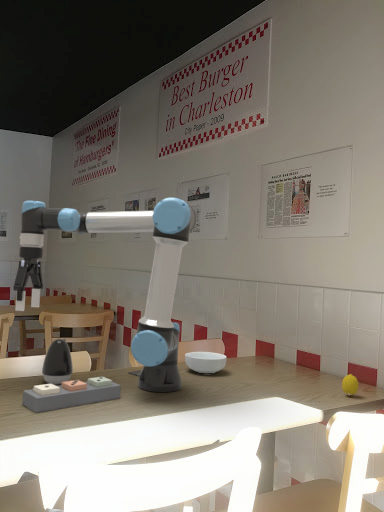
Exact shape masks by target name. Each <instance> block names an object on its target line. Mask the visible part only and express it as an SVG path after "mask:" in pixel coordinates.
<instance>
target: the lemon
mask: <svg viewBox="0 0 384 512" xmlns="http://www.w3.org/2000/svg"><path fill="white" fill-rule="evenodd" d="M341 388H342V391H343V392H344V393H345V394H346V393H350V394H354V395H355V394H357V392H358V390H359V381H358V378H357V377H356V376H354V375H353V374H352V373H350V374H346V375H345V376H344V377H343V379H342V382H341Z"/></svg>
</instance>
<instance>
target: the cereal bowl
mask: <svg viewBox="0 0 384 512" xmlns="http://www.w3.org/2000/svg"><path fill="white" fill-rule="evenodd" d="M184 360H185V364H186V366H187V367H188V368H189V369H191V370H192V371H194V372H195V371H196V372H199V373H214V374H215V373H216V372H219V371H221V370H223V369H224V368H225V366H226V364H227V356H226V355H225V354H222V353H218V352H210V351H192V352H187V353H185V354H184ZM196 372H195V373H196ZM199 373H198V374H199Z"/></svg>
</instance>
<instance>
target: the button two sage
mask: <svg viewBox="0 0 384 512" xmlns="http://www.w3.org/2000/svg"><path fill="white" fill-rule="evenodd" d="M86 382H87V384H89V385H91V386H94V387H96V388H97V387H104V386H110V385H112V382H113V380H112V379H109V378H107V377H105V376H97V377H89V378H87V381H86Z"/></svg>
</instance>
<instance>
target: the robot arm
mask: <svg viewBox="0 0 384 512" xmlns="http://www.w3.org/2000/svg"><path fill="white" fill-rule="evenodd" d="M20 214H21V221H20V223H21V224H20V225H21V227H20V236H19V245H20V247H19V253H18V257H19V258H20V259H21V258H22V259H23V260H19V262H18V269H17V272H16V277H15V280H14V284H13V286H12V287H13V291H15V292H16V293H15V294H16V297H15V310H14V311H15V312H25V305H26V290H25V289H26V286H27V283H28V281H29V278H30V280H31V284H32V288H31V303H30V308H40V302H41V290H42V289H44V281H43V273H42V261H41V259H42V258H43V253H44V250H43V248H42V247H44V239H45V237H44V234H45V231H61V232H66V233H73V234H75V235H83V234H93V233H97V234H98V233H99V234H101V233H102V234H103V233H107V234H108V233H152V238H153V240H154V242H155V247H154V248H155V250H154V256H153V261H152V266H151V273H150V279H149V284H148V292H147V296H146V304H145V311H144V315H143V316H142V317H141V318H139V320H138V324H137V328H136V334H135V335H134V337H133V339H132V341H131V344H130V351H131V355H132V357H133V358H134V360H135V361H136V363H138V364H140V365H142V369H141V370H142V371H141V374H140V376H139V377H138V380H137V381H138V382H137V387H138V388H139V389H141V390H144V391H148V392H154V393H171V392H176V391H179V390H181V388H182V380H181V375H180V371H179V367H178V359H179V344H180V343H179V341H180V334H181V333H180V332H181V331H180V324H179V322H172V320H171V319H172V312H173V306H174V301H175V294H176V288H177V284H178V283H177V282H178V276H179V269H180V265H181V264H180V263H181V258H182V254H183V253H182V252H183V248H184V247H185V246H186V245H188V243H189V239H190V233H191V232H192V231H193V230H194V228H195V227H196V224H197V215H196V212H195V210H194V208H193V207H192V206H191V205H190V204H188V203H187V202H186V201H185V200H183V199H181V198H177V197H166V198H163V199H161V200H160V201H159V202H158V203H156V205H155V206H154V208H153V210H126V211H125V210H124V211H123V210H122V211H93V212H92V211H88V212H87V211H86V212H83V211H81V212H79V211H78V210H77V209H75V208H69V207H65V208H61V207H60V208H59V207H56V208H55V207H46V203H45V202H43V201H38V200H26V201H23V203H22V206H21V213H20ZM38 259H39V260H38Z"/></svg>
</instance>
